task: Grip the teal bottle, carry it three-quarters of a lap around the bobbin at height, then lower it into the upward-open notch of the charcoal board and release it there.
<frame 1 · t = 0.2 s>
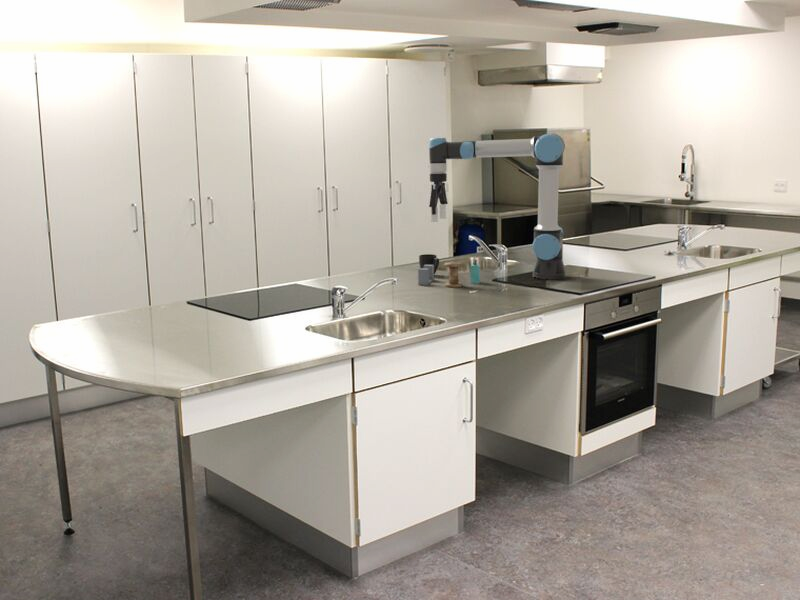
hand: (438, 220, 396), 27 cm above the countertop, fingers open, 13 cm apart
mug: (430, 276, 412), on the countertop
notch board: (426, 282, 395), on the countertop
teal bottle: (475, 282, 391), on the countertop
bobbin: (453, 285, 385), on the countertop
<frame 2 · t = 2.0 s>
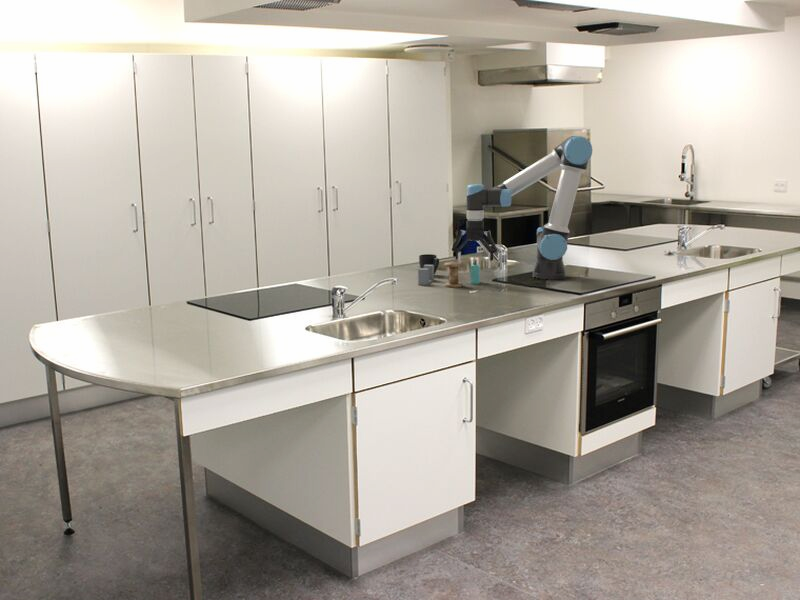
hand: (474, 267, 390), 7 cm above the countertop, fingers open, 13 cm apart
nothing on the countertop moved.
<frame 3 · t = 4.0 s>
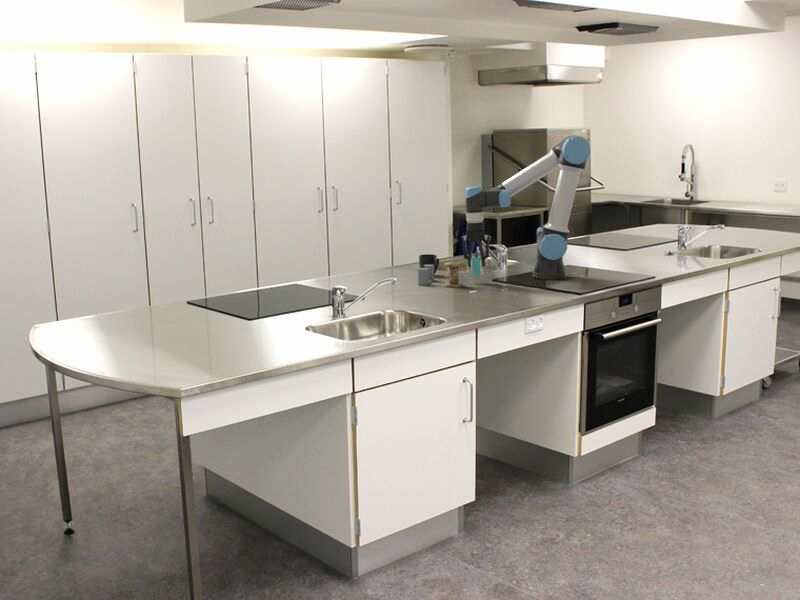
hand: (477, 274, 390), 4 cm above the countertop, fingers closed on teal bottle, 3 cm apart
teal bottle: (477, 275, 391), point 4 cm above the countertop, touching gripper
everything else where it was.
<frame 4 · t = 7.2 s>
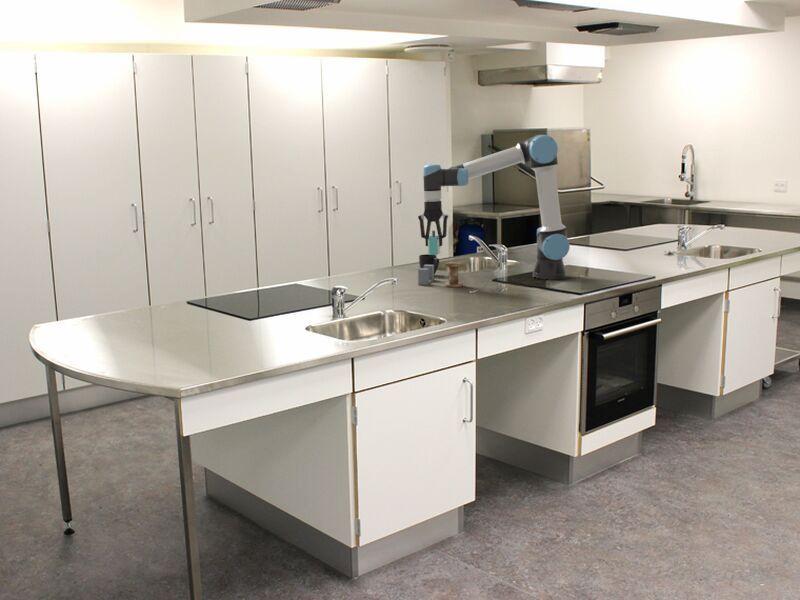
hand: (434, 253, 387), 14 cm above the countertop, fingers closed on teal bottle, 3 cm apart
teal bottle: (434, 254, 387), point 14 cm above the countertop, touching gripper
everything else where it was.
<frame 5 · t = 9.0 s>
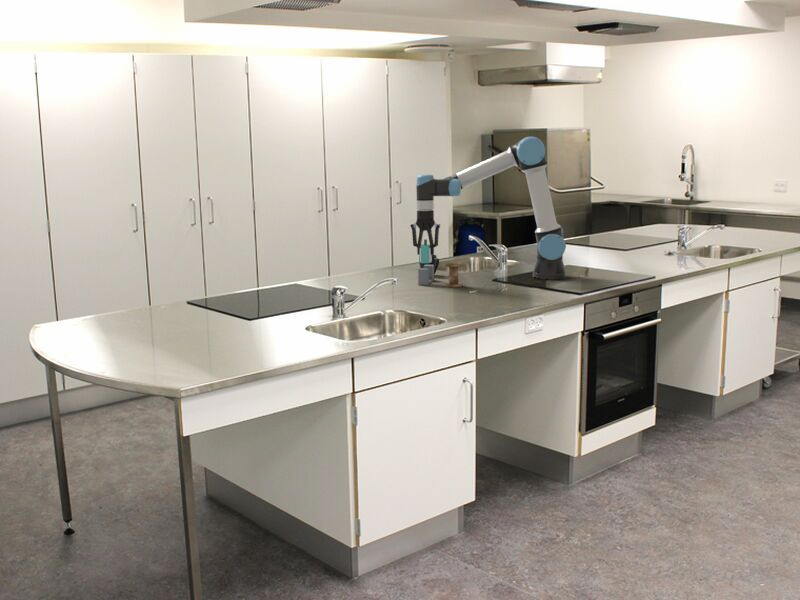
hand: (425, 261, 393), 9 cm above the countertop, fingers closed on teal bottle, 3 cm apart
teal bottle: (425, 262, 393), point 9 cm above the countertop, touching gripper
everything else where it was.
when the fingers open (2 cm above the countertop, at t = 10.5 s): teal bottle stays where it is, resting on notch board.
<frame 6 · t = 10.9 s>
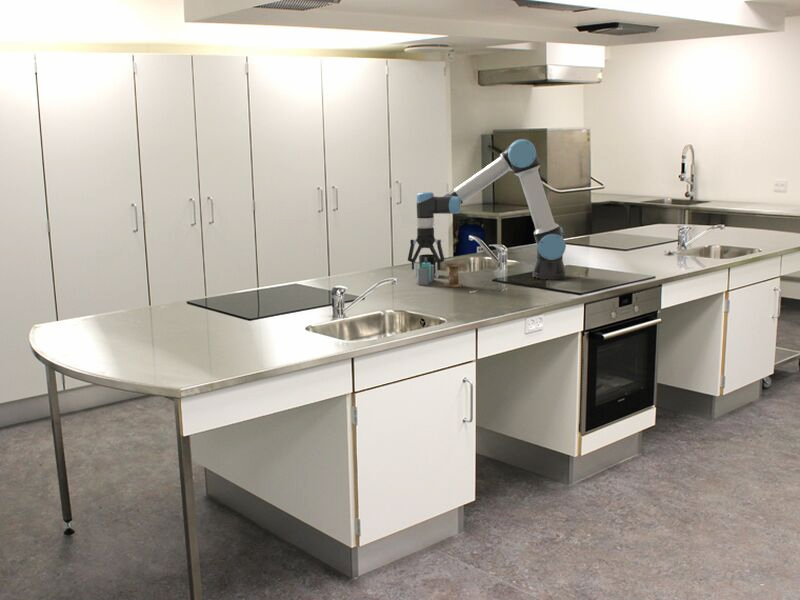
hand: (426, 276, 395), 3 cm above the countertop, fingers open, 9 cm apart
teal bottle: (426, 280, 395), point 1 cm above the countertop, touching notch board
everything else where it was.
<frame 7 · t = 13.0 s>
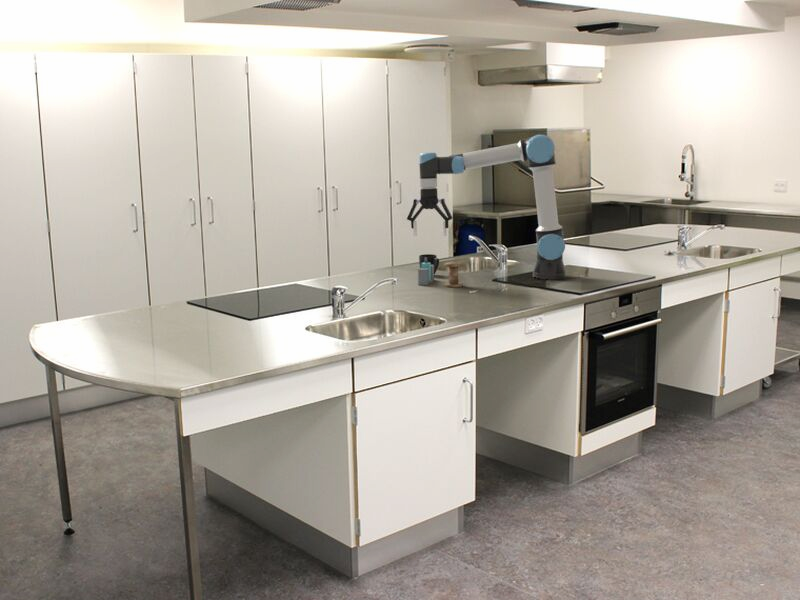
hand: (430, 235, 392), 21 cm above the countertop, fingers open, 13 cm apart
nothing on the countertop moved.
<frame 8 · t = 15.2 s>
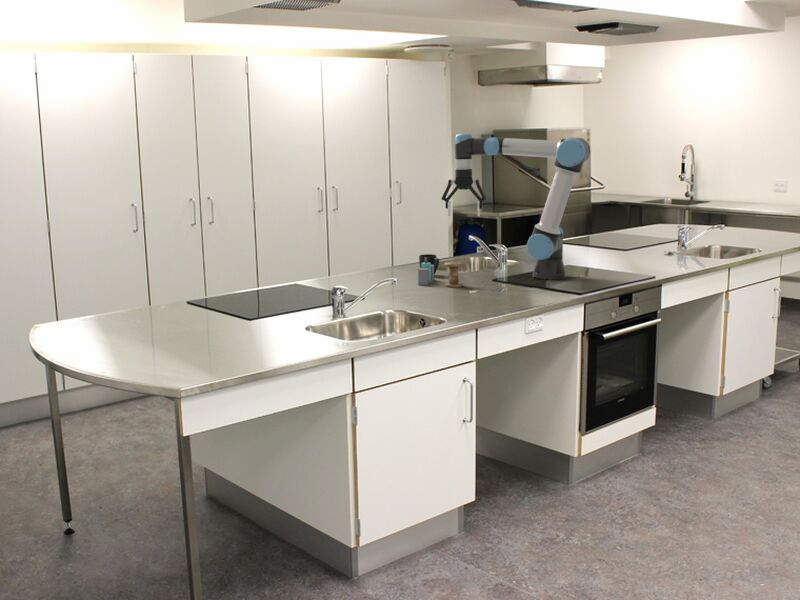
hand: (464, 216, 398), 29 cm above the countertop, fingers open, 13 cm apart
nothing on the countertop moved.
at the end: teal bottle 0.0 cm off-centre on the notch board, point 0.8 cm above the notch board's base; teal bottle tilted 0°; the gripper is holding nothing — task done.
